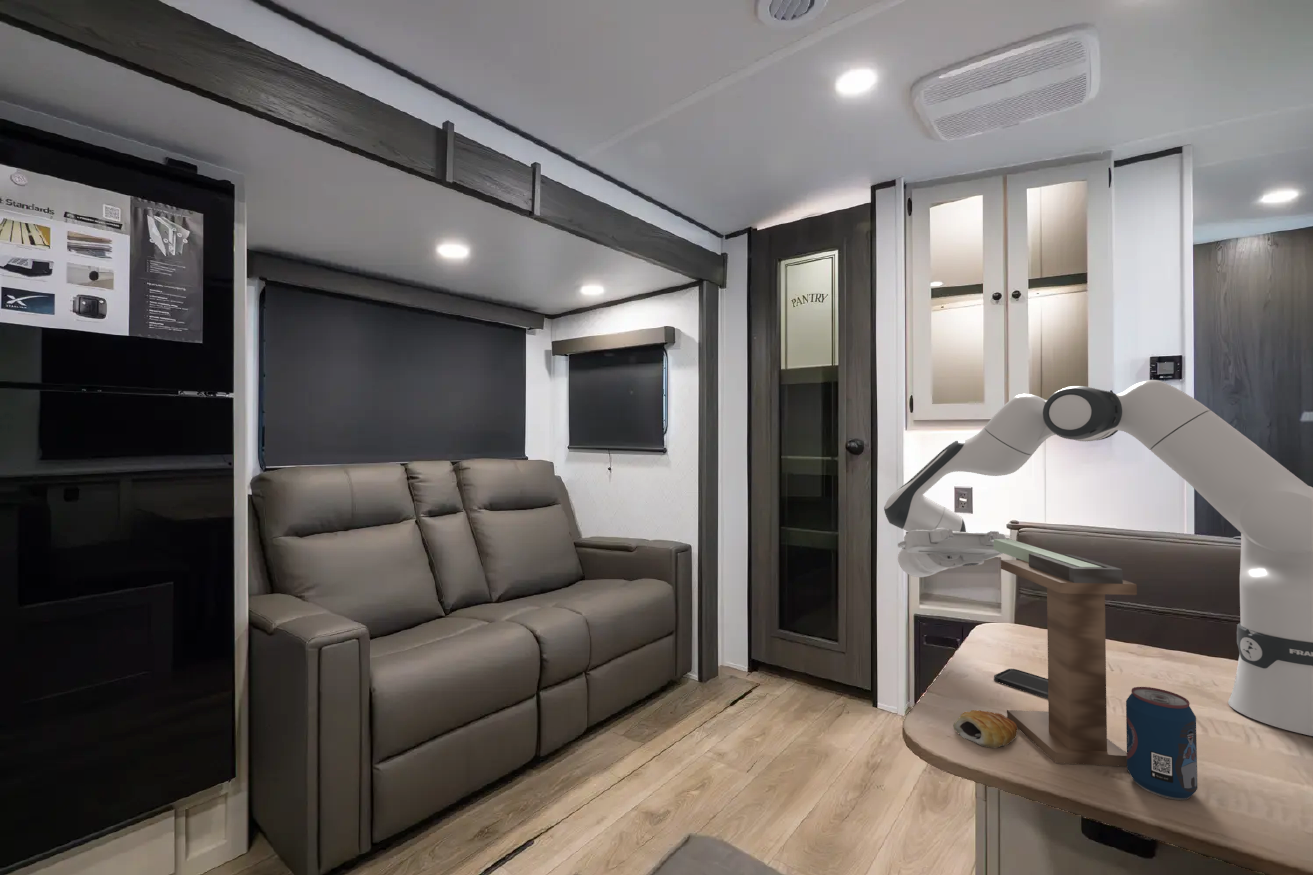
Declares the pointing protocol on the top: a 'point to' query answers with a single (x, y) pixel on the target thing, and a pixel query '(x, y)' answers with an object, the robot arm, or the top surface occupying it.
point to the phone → (1024, 681)
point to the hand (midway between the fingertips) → (972, 534)
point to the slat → (1034, 552)
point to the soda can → (1161, 742)
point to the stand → (1073, 660)
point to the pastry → (986, 728)
